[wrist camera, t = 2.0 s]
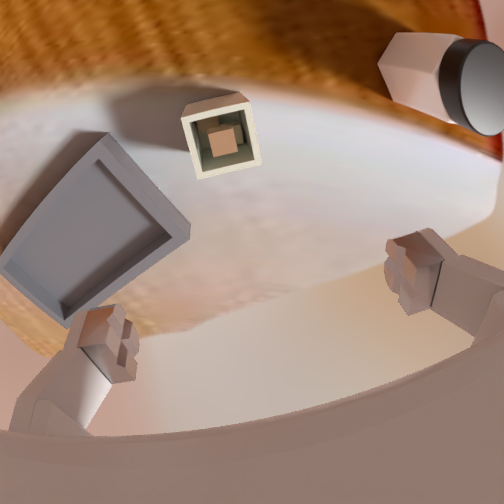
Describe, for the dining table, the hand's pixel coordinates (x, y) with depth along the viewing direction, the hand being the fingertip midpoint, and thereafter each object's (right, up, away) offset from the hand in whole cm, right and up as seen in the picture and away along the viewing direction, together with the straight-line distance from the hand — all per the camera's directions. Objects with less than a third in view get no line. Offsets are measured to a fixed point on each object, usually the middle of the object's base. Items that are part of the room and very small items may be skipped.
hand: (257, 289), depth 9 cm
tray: (-19, +2, +23) cm, 30 cm away
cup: (-3, +13, +19) cm, 23 cm away
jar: (+17, +20, +17) cm, 31 cm away
